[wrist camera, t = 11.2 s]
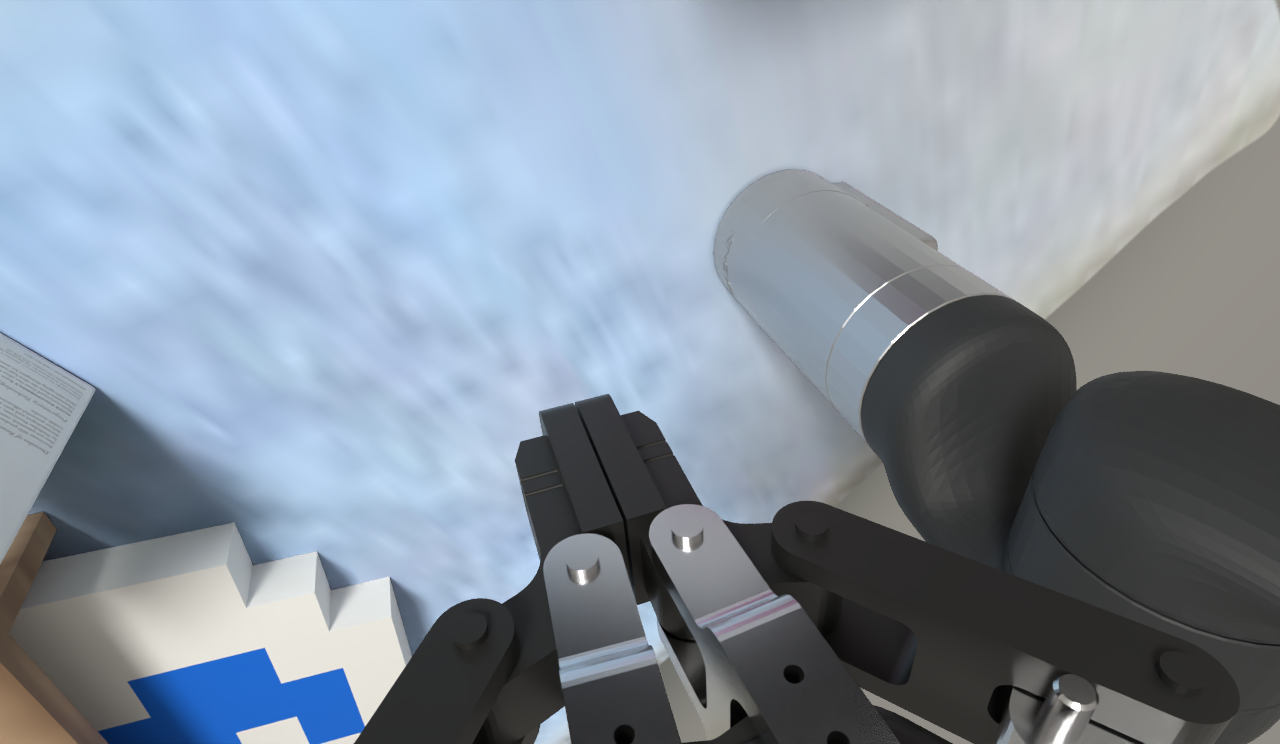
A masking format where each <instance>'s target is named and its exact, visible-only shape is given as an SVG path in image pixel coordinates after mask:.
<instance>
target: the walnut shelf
mask: <svg viewBox="0 0 1280 744" xmlns="http://www.w3.org/2000/svg"><path fill="white" fill-rule="evenodd" d="M56 531H57V529H56V527H55V526H54V525H53V523H52V522H51V521H50V519H49V518H48V517H47V515H46V514H45V513H44V512H40V513H35V514H31V515H27V517H26V519H25V520H24V522H23V524H22V526H21V528H20V530H19V531H18V533H17V535H16V537H15V539H14V540H13V542H12V544H11V546H10V548H9V549H8V551H7V553H6V555H5V557H4V559H3V560H2V562H1V564H0V744H108V742H107V741H106V740H105V739H104V738H103V737H102V736H101V735H100V734H99V733H98V731H97V730H96V729H95V728H94V727H93V726H92V725H91V724H90V723H89V722H88V721H87V719H86V718H85V717H84V716H83V715H82V714H81V713H80V712H79V711H78V710H77V708H76V707H75V706H74V705H73V704H72V703H71V702H70V701H69V700H68V699H67V697H66V696H65V695H64V694H63V693H62V692H61V691H60V690H59V689H58V688H57V686H56V685H55V684H54V683H53V682H52V681H51V680H50V679H49V678H48V677H47V675H46V674H45V673H44V672H43V671H42V670H41V669H40V668H39V667H38V666H37V665H36V663H35V662H34V661H33V660H32V659H31V658H30V657H29V656H28V655H27V654H26V652H25V651H24V650H23V649H22V648H21V647H20V646H19V645H18V644H17V643H16V641H15V640H14V639H13V638H12V637H11V636H10V635H9V632H10V630H11V628H12V626H13V624H14V622H15V619H16V617H17V615H18V613H19V611H20V609H21V607H22V604H23V602H24V600H25V598H26V596H27V594H28V591H29V589H30V587H31V585H32V583H33V581H34V578H35V576H36V574H37V572H38V570H39V568H40V566H41V563H42V561H43V559H44V557H45V555H46V553H47V550H48V548H49V546H50V544H51V542H52V540H53V537H54V535H55V533H56Z"/></svg>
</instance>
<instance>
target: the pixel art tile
mask: <svg viewBox="0 0 1280 744" xmlns="http://www.w3.org/2000/svg"><path fill="white" fill-rule="evenodd" d="M9 635H10V636H11V637H12V638H13V639H14V640H15V641H16V643H17V644H18V645H19V646H20V647H21V648H22V649H23V650H24V651H25V652H26V654H27V655H28V656H29V657H30V658H31V659H32V660H33V661H34V662H35V663H36V665H37V666H38V667H39V668H40V669H41V670H42V671H43V672H44V673H45V674H46V675H47V677H48V678H49V679H50V680H51V681H52V682H53V683H54V684H55V685H56V686H57V688H58V689H59V690H60V691H61V692H62V693H63V694H64V695H65V696H66V697H67V699H68V700H69V701H70V702H71V703H72V704H73V705H74V706H75V707H76V708H77V710H78V711H79V712H80V713H81V714H82V715H83V716H84V717H85V718H86V719H87V721H88V722H89V723H90V724H91V725H92V726H93V727H94V728H95V729H96V730H97V731H98V733H99V734H100V735H101V736H102V737H103V738H104V739H105V740H106V741H107V742H108V744H354V743H355V741H356V740H357V738H358V737H359V735H360V734H361V732H362V731H363V729H364V728H365V726H366V725H367V723H368V722H369V720H370V719H371V717H372V716H373V714H374V713H375V711H376V710H377V708H378V707H379V705H380V704H381V702H382V701H383V699H384V698H385V696H386V695H387V693H388V692H389V690H390V689H391V687H392V686H393V684H394V683H395V681H396V680H397V678H398V677H399V675H400V674H401V672H402V671H403V669H404V668H405V667H406V665H407V664H408V662H409V661H410V659H411V658H412V654H411V651H410V647H409V644H408V640H407V637H406V633H405V630H404V626H403V623H402V619H401V616H400V612H399V608H398V605H397V601H396V598H395V594H394V591H393V587H392V584H391V580H390V577H385V578H381V579H377V580H373V581H368V582H364V583H360V584H355V585H351V586H347V587H342V588H338V589H334V590H331V589H330V586H329V583H328V581H327V578H326V575H325V572H324V569H323V567H322V564H321V561H320V558H319V555H318V553H317V551H316V552H311V553H307V554H302V555H298V556H293V557H288V558H284V559H279V560H275V561H270V562H266V563H261V564H256V565H253V564H252V562H251V559H250V557H249V555H248V552H247V550H246V548H245V546H244V543H243V541H242V539H241V536H240V534H239V532H238V530H237V527H236V525H235V523H229V524H224V525H219V526H214V527H209V528H204V529H199V530H195V531H190V532H185V533H180V534H175V535H170V536H165V537H160V538H155V539H150V540H145V541H141V542H136V543H131V544H126V545H121V546H116V547H111V548H106V549H101V550H96V551H91V552H87V553H82V554H77V555H72V556H67V557H62V558H57V559H52V560H47V561H42V563H41V566H40V568H39V570H38V572H37V574H36V576H35V578H34V581H33V583H32V585H31V587H30V589H29V591H28V594H27V596H26V598H25V600H24V602H23V604H22V607H21V609H20V611H19V613H18V615H17V617H16V619H15V622H14V624H13V626H12V628H11V630H10V632H9Z"/></svg>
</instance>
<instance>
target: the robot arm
mask: <svg viewBox="0 0 1280 744" xmlns="http://www.w3.org/2000/svg"><path fill="white" fill-rule="evenodd" d="M937 249H938V245H937V241H936V240H935V238H934V237H932V236H931V235H929V234H928V233H926V232H924V231H923V230H921V229H920V228H918V227H916V226H915V225H913V224H912V223H910V222H908V221H907V220H905V219H903V218H902V217H900V216H899V215H897V214H895V213H894V212H892V211H891V210H889V209H887V208H886V207H884V206H882V205H881V204H879V203H878V202H876V201H874V200H873V199H871V198H870V197H868V196H866V195H865V194H863V193H861V192H860V191H858V190H857V189H855V188H853V187H852V186H850V185H849V184H847V183H845V182H841V183H830V182H828V181H827V180H825V179H824V178H822V177H821V176H819V175H817V174H815V173H812V172H809V171H806V170H796V169H789V170H783V171H777V172H774V173H772V174H769V175H766V176H764V177H762V178H760V179H759V180H757V181H755V182H754V183H752V184H751V185H749V186H748V187H747V188H746V189H745V190H743V191H742V192H741V193H740V194H739V195H738V196H737V197H736V198H735V200H734V201H733V202H732V203H731V205H730V206H729V207H728V209H727V210H726V212H725V214H724V216H723V218H722V220H721V221H720V223H719V226H718V230H717V233H716V236H715V241H714V251H713V254H714V263H715V268H716V271H717V273H718V276H719V278H720V280H721V281H722V283H723V284H724V286H725V287H726V288H727V289H728V291H729V292H730V293H731V294H732V295H733V296H734V297H735V298H736V299H737V300H738V302H739V303H740V304H741V305H742V306H743V307H744V308H745V309H746V310H747V312H748V313H749V314H750V315H751V316H752V317H753V319H754V320H755V321H756V322H757V323H758V324H759V325H760V326H761V327H762V328H763V329H764V331H765V332H766V333H767V334H768V335H769V336H770V337H771V338H772V339H773V340H774V342H775V343H776V344H777V345H778V346H779V347H780V348H781V349H782V350H783V351H784V353H785V354H786V355H787V356H788V357H789V358H790V359H791V360H792V361H793V362H794V364H795V365H796V366H797V367H798V368H799V369H800V370H801V371H802V372H803V373H804V375H805V376H806V377H807V378H808V379H809V380H810V381H811V382H812V383H813V384H814V386H815V387H816V388H817V389H818V390H819V391H820V392H821V393H822V394H823V395H824V397H825V398H826V399H827V400H828V401H829V402H830V403H831V404H832V405H833V406H834V408H835V409H836V410H837V411H838V412H839V413H840V414H841V415H842V416H843V417H844V418H845V419H846V420H847V422H848V423H849V424H850V425H851V426H852V427H853V428H854V429H855V430H856V432H857V433H858V434H859V435H860V436H861V437H862V438H863V439H864V440H865V441H866V443H867V444H868V445H869V446H870V447H871V449H872V450H873V451H874V452H875V453H876V454H877V455H878V456H879V458H880V459H881V460H882V462H883V464H884V466H885V469H886V473H887V476H888V479H889V482H890V486H891V488H892V491H893V493H894V496H895V498H896V500H897V502H898V504H899V506H900V507H901V509H902V510H903V512H904V513H905V515H906V516H907V518H908V519H909V520H910V522H911V523H912V524H913V526H914V527H915V528H916V530H917V531H918V532H919V533H920V535H921V536H922V537H923V538H924V540H925V541H926V542H924V541H921V540H919V539H917V538H914V537H911V536H908V535H906V534H903V533H901V532H898V531H895V530H893V529H890V528H887V527H885V526H882V525H880V524H877V523H874V522H872V521H869V520H867V519H864V518H861V517H859V516H856V515H853V514H850V513H848V512H845V511H843V510H840V509H838V508H835V507H832V506H830V505H827V504H824V503H821V502H815V501H799V502H794V503H791V504H788V505H786V506H785V507H783V508H782V509H780V510H779V511H778V512H777V514H776V515H775V517H774V519H773V522H772V523H761V524H739V523H732V522H728V521H725V520H722V519H721V518H720V517H719V516H718V515H717V514H716V513H715V512H714V511H712V510H710V509H708V508H706V507H703V505H702V504H701V502H700V501H699V499H698V497H697V495H696V493H695V492H694V490H693V488H692V486H691V484H690V483H689V481H688V479H687V477H686V475H685V474H684V472H683V470H682V468H681V467H680V465H679V463H678V461H677V459H676V458H675V456H673V452H672V450H671V449H670V447H669V445H668V443H667V442H666V441H665V438H664V436H663V434H662V433H661V431H660V429H659V427H658V425H657V424H656V422H654V421H653V420H651V419H650V418H648V417H647V416H645V415H644V414H642V413H641V412H640V411H636V412H632V413H628V414H624V415H621V416H620V414H619V412H618V410H617V408H616V406H615V404H614V402H613V400H612V398H611V396H610V395H609V394H606V395H602V396H598V397H594V398H590V399H586V400H582V401H578V402H575V406H574V404H573V403H571V404H567V405H563V406H559V407H555V408H551V409H547V410H543V411H539V417H540V423H541V428H542V433H543V436H541V437H537V438H533V439H529V440H525V441H521V442H520V445H519V449H518V452H517V455H516V459H515V463H516V467H517V472H518V476H519V480H520V485H521V489H522V493H523V498H524V502H525V507H526V511H527V515H528V518H529V522H530V526H531V529H532V533H533V537H534V540H535V544H536V547H537V551H538V555H539V558H540V566H539V569H538V571H537V574H536V575H535V577H534V579H533V580H532V581H531V582H530V584H529V585H528V586H527V587H526V588H524V589H523V590H522V591H521V592H519V593H518V594H517V595H515V596H514V597H512V598H510V599H509V600H507V601H506V602H504V603H503V604H501V603H499V602H497V601H494V600H490V599H481V598H478V599H471V600H467V601H464V602H461V603H459V604H456V605H455V606H453V607H451V608H450V609H448V610H447V611H446V612H444V613H443V614H442V615H441V616H440V617H439V618H438V619H437V621H436V622H435V623H434V625H433V626H432V628H431V629H430V631H429V632H428V634H427V635H426V637H425V638H424V640H423V641H422V643H421V644H420V646H419V647H418V649H417V650H416V652H415V653H414V655H413V656H412V658H411V659H410V661H409V662H408V664H407V665H406V667H405V668H404V669H403V671H402V672H401V674H400V675H399V677H398V678H397V680H396V681H395V683H394V684H393V686H392V687H391V689H390V690H389V692H388V693H387V695H386V696H385V698H384V699H383V701H382V702H381V704H380V705H379V707H378V708H377V710H376V711H375V713H374V714H373V716H372V717H371V719H370V720H369V722H368V723H367V725H366V726H365V728H364V729H363V731H362V732H361V734H360V735H359V737H358V738H357V740H356V741H355V743H354V744H534V742H535V740H536V738H537V735H538V733H539V728H540V724H541V723H542V722H544V721H545V720H547V719H548V718H549V717H551V716H552V715H553V714H555V713H556V712H557V711H559V710H560V709H561V708H563V707H564V706H565V709H566V715H567V721H568V727H569V733H570V739H571V744H952V743H950V742H948V741H947V740H945V739H943V738H941V737H939V736H937V735H936V734H934V733H932V732H930V731H928V730H926V729H925V728H923V727H921V726H919V725H917V724H915V723H913V722H912V721H910V720H908V719H906V718H904V717H902V716H900V715H898V714H896V713H894V712H891V711H889V710H886V709H884V708H881V707H878V706H874V705H872V704H871V702H870V701H869V699H868V698H867V697H866V695H865V694H864V692H863V691H862V690H861V688H863V689H865V690H867V691H869V692H871V693H873V694H875V695H877V696H879V697H881V698H883V699H885V700H887V701H889V702H891V703H893V704H895V705H897V706H899V707H901V708H903V709H905V710H908V711H909V712H911V713H913V714H915V715H918V716H919V717H921V718H923V719H925V720H927V721H929V722H931V723H933V724H935V725H937V726H939V727H941V728H944V729H945V730H947V731H950V732H952V733H954V734H956V735H958V736H960V737H962V738H964V739H966V740H968V741H970V742H972V743H974V744H1247V743H1249V742H1251V741H1253V740H1254V739H1256V738H1257V737H1259V736H1260V735H1262V734H1263V733H1264V732H1266V731H1267V730H1268V729H1270V728H1271V727H1272V726H1273V725H1274V724H1275V723H1276V722H1277V721H1278V720H1279V719H1280V405H1278V404H1275V403H1272V402H1270V401H1267V400H1264V399H1262V398H1259V397H1257V396H1254V395H1251V394H1249V393H1246V392H1243V391H1240V390H1236V389H1234V388H1231V387H1227V386H1224V385H1221V384H1217V383H1214V382H1210V381H1206V380H1202V379H1198V378H1193V377H1187V376H1182V375H1177V374H1171V373H1164V372H1155V371H1135V372H1119V373H1114V374H1110V375H1106V376H1102V377H1099V378H1097V379H1094V380H1092V381H1090V382H1088V383H1087V384H1085V385H1083V386H1082V387H1080V389H1078V390H1076V373H1075V365H1074V360H1073V357H1072V354H1071V351H1070V348H1069V347H1068V345H1067V343H1066V341H1065V340H1064V338H1063V337H1062V335H1061V334H1060V333H1059V332H1058V331H1057V330H1056V329H1055V328H1054V327H1053V326H1052V325H1051V324H1049V323H1048V322H1047V321H1046V320H1044V319H1043V318H1042V317H1040V316H1039V315H1037V314H1036V313H1034V312H1032V311H1031V310H1029V309H1028V308H1026V307H1025V306H1023V305H1021V304H1020V303H1018V302H1016V301H1015V300H1013V299H1012V298H1010V297H1009V296H1007V295H1006V294H1004V293H1002V292H1001V291H999V290H998V289H996V288H995V287H993V286H992V285H990V284H988V283H987V282H985V281H984V280H982V279H981V278H979V277H977V276H976V275H974V274H973V273H971V272H969V271H968V270H966V269H964V268H963V267H961V266H960V265H958V264H957V263H955V262H953V261H952V260H950V259H949V258H947V257H946V256H944V255H942V254H941V253H939V252H938V251H937ZM635 601H636V602H635ZM648 601H651V604H652V606H653V608H654V611H655V613H656V616H657V626H658V633H659V636H660V639H661V641H662V643H663V645H664V647H665V649H666V651H667V653H668V655H669V657H670V659H671V661H672V663H673V665H674V667H675V669H676V670H677V673H678V675H679V677H680V679H681V681H682V683H683V685H684V686H685V688H686V690H687V692H688V694H689V696H690V698H691V700H692V702H693V704H694V706H695V708H696V710H697V712H698V714H699V716H700V718H701V720H702V723H703V725H704V728H705V731H706V734H707V738H708V741H698V742H687V743H682V742H681V739H680V736H679V732H678V729H677V726H676V722H675V719H674V716H673V712H672V709H671V706H670V702H669V699H668V695H667V692H666V689H665V685H664V682H663V679H662V676H661V672H660V668H659V665H658V662H657V659H656V656H655V653H654V650H653V648H652V646H651V645H648V642H647V639H646V636H645V632H644V629H643V626H642V622H641V619H640V615H639V612H638V608H637V605H639V604H642V603H645V602H648ZM636 604H637V605H636ZM860 687H861V688H860Z"/></svg>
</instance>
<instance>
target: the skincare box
mask: <svg viewBox="0 0 1280 744" xmlns="http://www.w3.org/2000/svg"><path fill="white" fill-rule="evenodd" d="M94 392H95V388H94V387H93V386H91V385H90V384H88V383H86V382H84V381H83V380H81V379H79V378H77V377H76V376H74V375H72V374H71V373H69V372H67V371H65V370H64V369H62V368H60V367H58V366H57V365H55V364H53V363H51V362H50V361H48V360H46V359H45V358H43V357H41V356H39V355H38V354H36V353H34V352H33V351H31V350H29V349H27V348H26V347H24V346H22V345H21V344H19V343H17V342H15V341H14V340H12V339H10V338H9V337H7V336H5V335H3V334H2V333H0V564H1V562H2V560H3V559H4V557H5V555H6V553H7V551H8V549H9V548H10V546H11V544H12V542H13V540H14V539H15V537H16V535H17V533H18V531H19V530H20V528H21V526H22V524H23V522H24V520H25V519H26V517H27V515H28V513H29V511H30V509H31V508H32V506H33V504H34V502H35V500H36V499H37V497H38V495H39V493H40V491H41V489H42V487H43V486H44V484H45V482H46V480H47V478H48V477H49V475H50V473H51V471H52V469H53V467H54V466H55V464H56V462H57V460H58V458H59V456H60V455H61V453H62V451H63V449H64V447H65V445H66V444H67V442H68V440H69V438H70V436H71V434H72V433H73V431H74V429H75V427H76V425H77V424H78V422H79V420H80V418H81V416H82V414H83V413H84V411H85V409H86V407H87V405H88V404H89V402H90V400H91V398H92V396H93V394H94Z"/></svg>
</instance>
